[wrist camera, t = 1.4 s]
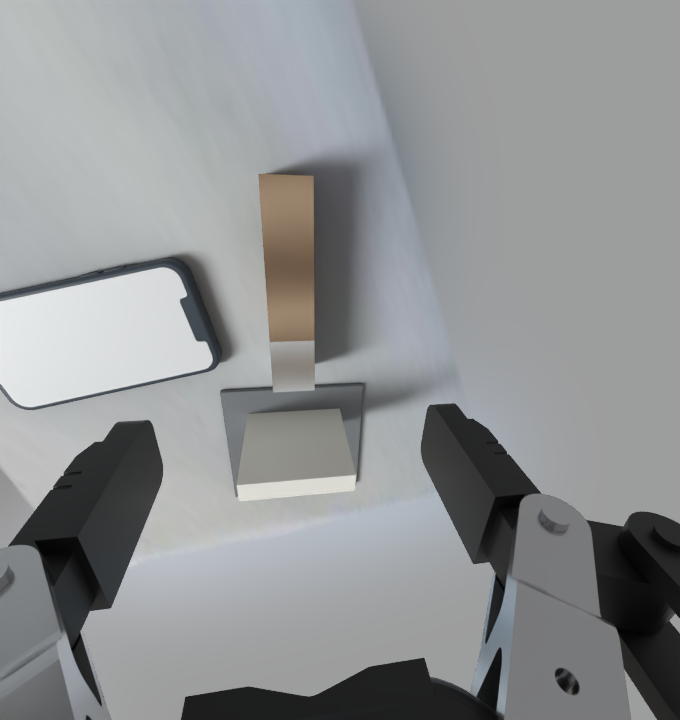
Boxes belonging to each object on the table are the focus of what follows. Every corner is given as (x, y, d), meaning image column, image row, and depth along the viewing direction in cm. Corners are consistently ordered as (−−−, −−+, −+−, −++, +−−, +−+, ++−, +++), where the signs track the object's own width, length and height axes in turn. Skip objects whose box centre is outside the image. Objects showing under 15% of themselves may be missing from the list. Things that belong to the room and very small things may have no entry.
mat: (220, 390, 29) (220, 392, 29) (362, 383, 31) (363, 385, 30) (236, 493, 35) (235, 496, 34) (355, 482, 36) (356, 485, 36)
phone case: (32, 404, 28) (228, 361, 28) (18, 416, 27) (224, 370, 27) (-46, 300, 24) (185, 251, 24) (-67, 307, 22) (179, 255, 23)
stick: (262, 175, 22) (258, 173, 19) (308, 176, 23) (313, 175, 19) (274, 366, 29) (273, 392, 25) (310, 365, 29) (314, 390, 26)
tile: (247, 413, 30) (236, 485, 23) (339, 408, 31) (356, 474, 24) (249, 429, 31) (239, 503, 24) (339, 423, 32) (354, 492, 25)
